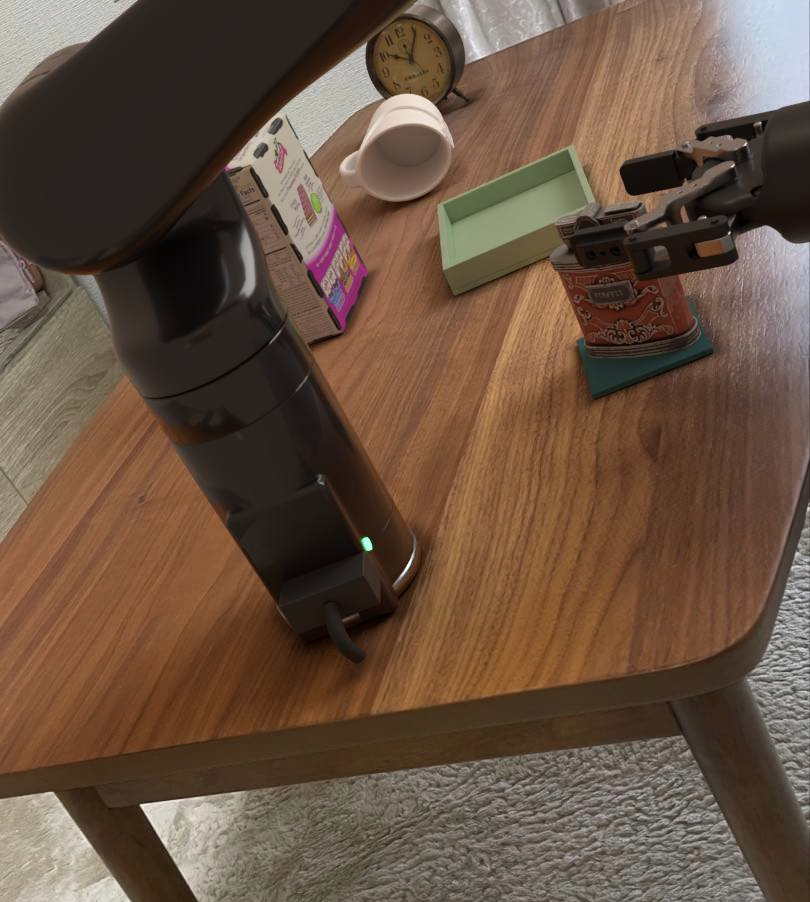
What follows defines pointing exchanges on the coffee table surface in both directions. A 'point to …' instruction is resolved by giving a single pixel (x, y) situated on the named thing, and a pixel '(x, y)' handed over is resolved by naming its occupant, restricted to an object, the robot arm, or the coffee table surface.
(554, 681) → the coffee table surface
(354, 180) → the mug
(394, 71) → the alarm clock
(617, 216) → the lighter
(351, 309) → the candy bar box
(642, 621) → the coffee table surface
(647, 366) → the mat
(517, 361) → the coffee table surface
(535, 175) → the tray
